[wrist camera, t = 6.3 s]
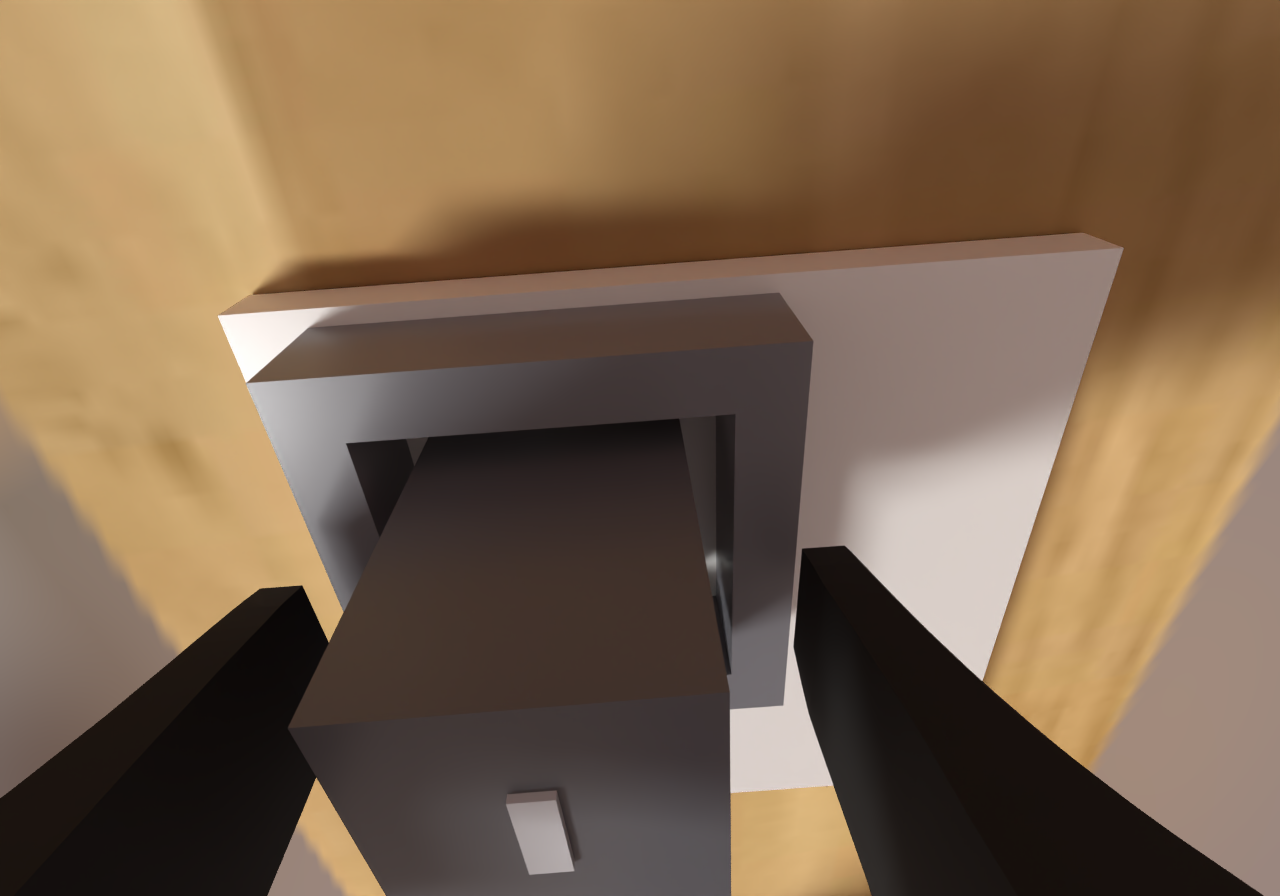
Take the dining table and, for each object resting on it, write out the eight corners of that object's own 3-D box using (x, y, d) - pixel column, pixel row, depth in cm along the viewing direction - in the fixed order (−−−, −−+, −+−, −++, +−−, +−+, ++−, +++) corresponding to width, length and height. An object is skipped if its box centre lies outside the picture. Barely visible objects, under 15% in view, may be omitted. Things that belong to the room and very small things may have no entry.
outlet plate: (934, 742, 18) (988, 856, 15) (439, 779, 18) (410, 898, 15) (1083, 232, 11) (1231, 287, 8) (249, 295, 11) (135, 369, 8)
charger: (683, 569, 13) (732, 913, 8) (487, 586, 13) (403, 940, 8) (674, 392, 11) (731, 701, 6) (440, 412, 11) (282, 738, 6)
